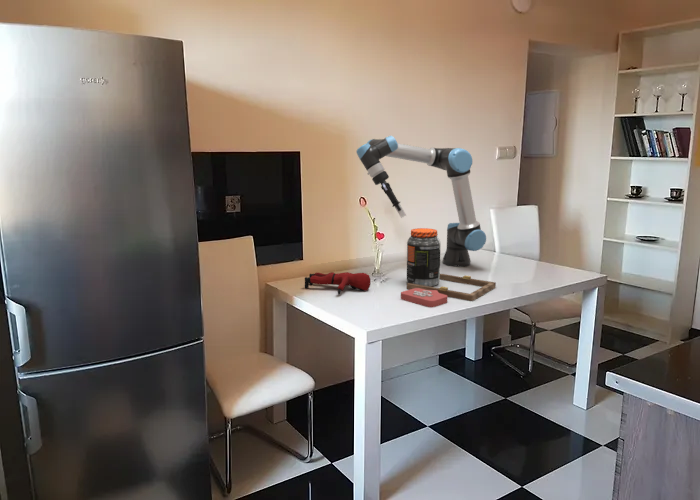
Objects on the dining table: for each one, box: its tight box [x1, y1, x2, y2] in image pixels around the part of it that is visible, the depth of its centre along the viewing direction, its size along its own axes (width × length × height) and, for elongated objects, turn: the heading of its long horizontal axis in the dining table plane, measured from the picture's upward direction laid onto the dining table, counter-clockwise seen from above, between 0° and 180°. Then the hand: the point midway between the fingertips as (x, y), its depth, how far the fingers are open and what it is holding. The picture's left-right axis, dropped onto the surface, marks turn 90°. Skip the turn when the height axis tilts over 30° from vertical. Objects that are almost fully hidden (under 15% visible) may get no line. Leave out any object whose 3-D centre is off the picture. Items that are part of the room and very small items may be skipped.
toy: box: [304, 271, 372, 296], centre depth 250 cm, size 28×8×30 cm
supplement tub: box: [406, 227, 441, 287], centre depth 257 cm, size 16×16×26 cm
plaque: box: [400, 288, 449, 308], centre depth 233 cm, size 18×4×15 cm
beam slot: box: [406, 273, 497, 302], centre depth 251 cm, size 28×32×4 cm
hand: (403, 216), depth 259 cm, fingers closed
